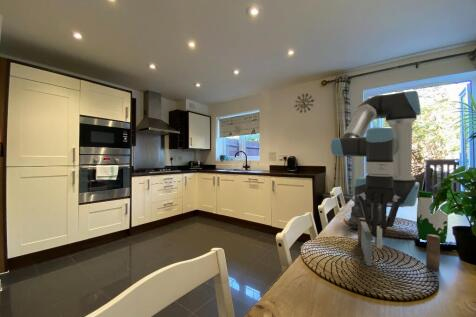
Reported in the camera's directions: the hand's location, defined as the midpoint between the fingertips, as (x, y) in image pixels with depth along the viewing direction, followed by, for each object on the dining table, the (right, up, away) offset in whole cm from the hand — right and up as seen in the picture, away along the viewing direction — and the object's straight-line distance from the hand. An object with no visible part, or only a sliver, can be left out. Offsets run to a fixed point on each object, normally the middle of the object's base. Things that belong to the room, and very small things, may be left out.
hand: (378, 246), depth 70 cm
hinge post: (+2, -4, +12) cm, 13 cm away
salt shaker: (+8, -4, +28) cm, 30 cm away
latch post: (+13, -5, -5) cm, 15 cm away
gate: (-3, -4, +3) cm, 5 cm away
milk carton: (+31, -5, +15) cm, 35 cm away
